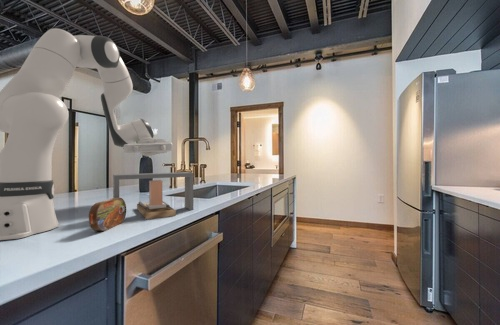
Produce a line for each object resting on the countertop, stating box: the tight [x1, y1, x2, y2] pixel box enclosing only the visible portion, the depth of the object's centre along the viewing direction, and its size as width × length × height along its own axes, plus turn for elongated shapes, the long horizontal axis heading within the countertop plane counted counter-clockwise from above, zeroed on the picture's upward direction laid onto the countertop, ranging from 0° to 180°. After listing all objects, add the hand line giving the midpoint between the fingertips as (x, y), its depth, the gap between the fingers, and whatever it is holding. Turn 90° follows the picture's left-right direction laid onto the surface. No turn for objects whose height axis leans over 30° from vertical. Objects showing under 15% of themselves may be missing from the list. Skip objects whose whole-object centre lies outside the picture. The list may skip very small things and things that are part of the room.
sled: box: [145, 179, 167, 209], centre depth 91 cm, size 6×7×10 cm
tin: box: [88, 197, 127, 232], centre depth 72 cm, size 15×3×8 cm, turn 179°
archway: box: [112, 171, 194, 211], centre depth 92 cm, size 28×6×15 cm, turn 123°
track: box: [136, 201, 177, 220], centre depth 93 cm, size 10×22×3 cm, turn 33°
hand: (150, 148), depth 101 cm, fingers open, 8 cm apart
